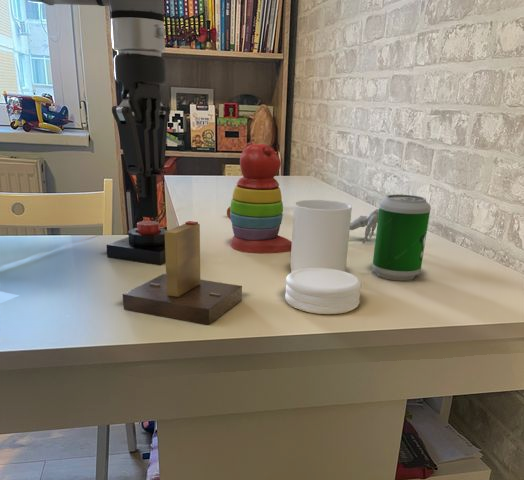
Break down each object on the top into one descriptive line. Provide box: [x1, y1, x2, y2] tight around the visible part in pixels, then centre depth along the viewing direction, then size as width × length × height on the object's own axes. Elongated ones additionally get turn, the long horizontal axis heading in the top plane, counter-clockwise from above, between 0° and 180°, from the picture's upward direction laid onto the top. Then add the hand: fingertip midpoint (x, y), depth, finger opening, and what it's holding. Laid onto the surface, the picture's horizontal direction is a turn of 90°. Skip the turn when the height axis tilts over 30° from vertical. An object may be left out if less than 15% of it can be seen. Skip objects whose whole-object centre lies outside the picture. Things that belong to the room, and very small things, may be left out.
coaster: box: [284, 268, 362, 315], centre depth 75 cm, size 10×10×4 cm
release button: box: [136, 220, 161, 234], centre depth 92 cm, size 4×4×2 cm
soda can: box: [371, 193, 432, 281], centre depth 86 cm, size 8×8×12 cm
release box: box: [105, 227, 169, 266], centre depth 93 cm, size 10×10×4 cm
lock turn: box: [165, 220, 201, 297], centre depth 70 cm, size 6×2×8 cm, turn 158°
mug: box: [290, 199, 353, 273], centre depth 87 cm, size 9×12×11 cm
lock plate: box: [122, 273, 243, 326], centre depth 72 cm, size 12×10×2 cm
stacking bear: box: [229, 141, 292, 254], centre depth 98 cm, size 11×10×18 cm
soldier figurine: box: [350, 208, 379, 244], centre depth 109 cm, size 6×5×12 cm
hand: (148, 216), depth 92 cm, fingers closed
